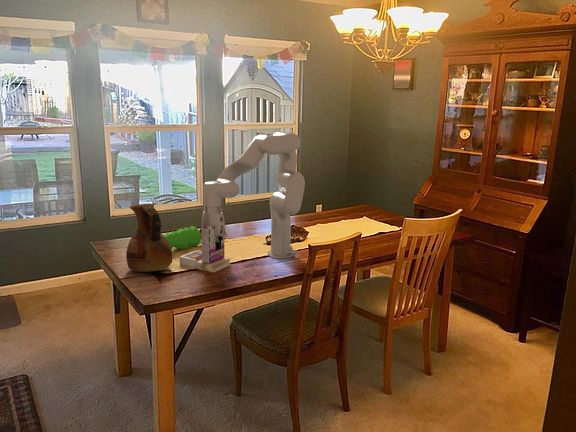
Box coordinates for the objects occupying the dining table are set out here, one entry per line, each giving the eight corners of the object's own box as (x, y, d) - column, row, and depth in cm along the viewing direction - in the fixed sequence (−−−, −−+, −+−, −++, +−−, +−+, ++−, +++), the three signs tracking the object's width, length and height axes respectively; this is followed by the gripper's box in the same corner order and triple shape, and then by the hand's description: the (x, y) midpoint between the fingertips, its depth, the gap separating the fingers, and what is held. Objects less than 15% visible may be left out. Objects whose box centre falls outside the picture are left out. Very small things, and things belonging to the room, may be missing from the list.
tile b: (200, 255, 234) (196, 254, 235) (194, 257, 231) (190, 256, 232) (200, 263, 235) (196, 262, 236) (194, 265, 232) (190, 265, 233)
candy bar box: (216, 255, 238) (216, 221, 234) (224, 257, 235) (225, 223, 232) (200, 262, 228) (200, 226, 224) (209, 264, 226) (209, 228, 222)
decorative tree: (207, 221, 265) (158, 229, 243) (213, 243, 264) (164, 253, 242) (194, 226, 273) (146, 234, 250) (199, 247, 272) (151, 257, 250)
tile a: (207, 252, 239) (203, 251, 240) (201, 254, 236) (197, 253, 237) (207, 260, 240) (203, 259, 241) (201, 262, 236) (197, 261, 238)
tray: (211, 261, 240) (211, 253, 239) (195, 268, 230) (194, 259, 229) (196, 258, 244) (196, 250, 244) (179, 265, 234) (179, 256, 233)
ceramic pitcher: (154, 260, 241) (152, 197, 234) (182, 269, 228) (180, 204, 222) (118, 270, 226) (114, 203, 219) (145, 280, 213) (142, 211, 207)
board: (229, 265, 235) (229, 258, 235) (213, 272, 225) (213, 265, 224) (212, 261, 240) (212, 255, 239) (196, 268, 230) (195, 261, 229)
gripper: (233, 210, 226) (233, 249, 230) (202, 205, 234) (203, 244, 238) (223, 213, 219) (223, 253, 224) (191, 208, 227) (193, 248, 232)
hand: (213, 248), depth 231 cm, fingers closed on candy bar box, 5 cm apart
